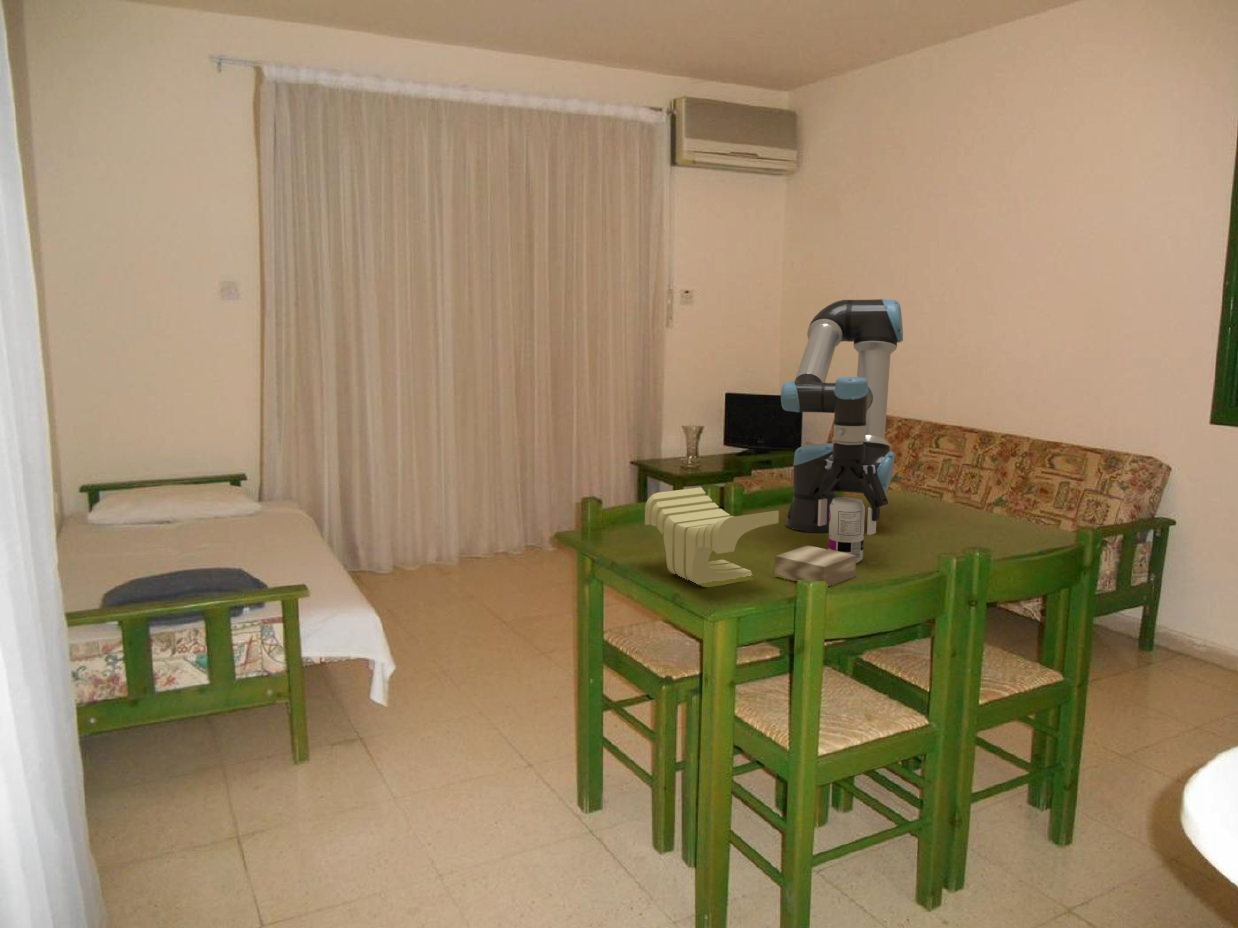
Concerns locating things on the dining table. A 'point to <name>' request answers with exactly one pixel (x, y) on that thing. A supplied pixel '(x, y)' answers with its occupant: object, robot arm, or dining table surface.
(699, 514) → the slatted curved stool
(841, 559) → the birch plinth
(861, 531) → the supplement can
